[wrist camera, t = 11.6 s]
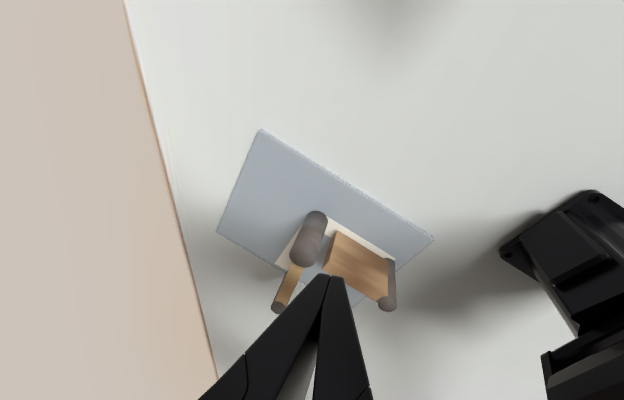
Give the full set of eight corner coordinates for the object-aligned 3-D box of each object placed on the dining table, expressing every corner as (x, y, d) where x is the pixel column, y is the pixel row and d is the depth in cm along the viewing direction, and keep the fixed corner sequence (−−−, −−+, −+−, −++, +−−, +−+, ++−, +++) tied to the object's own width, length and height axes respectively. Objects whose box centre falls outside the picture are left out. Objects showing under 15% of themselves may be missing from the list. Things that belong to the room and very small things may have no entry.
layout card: (432, 237, 19) (433, 240, 19) (349, 306, 26) (349, 310, 25) (260, 128, 18) (258, 130, 18) (218, 229, 25) (215, 231, 24)
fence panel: (302, 234, 21) (287, 267, 18) (315, 240, 21) (303, 274, 18) (284, 276, 24) (269, 310, 21) (295, 281, 24) (282, 316, 21)
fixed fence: (400, 257, 21) (403, 306, 17) (386, 268, 22) (386, 318, 18) (314, 204, 20) (296, 242, 16) (303, 218, 21) (284, 258, 17)
